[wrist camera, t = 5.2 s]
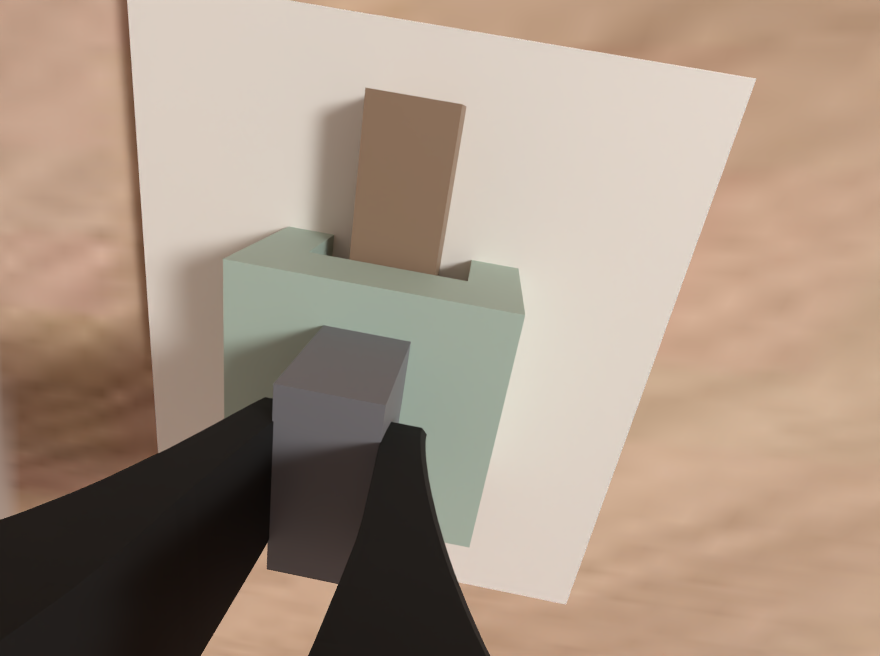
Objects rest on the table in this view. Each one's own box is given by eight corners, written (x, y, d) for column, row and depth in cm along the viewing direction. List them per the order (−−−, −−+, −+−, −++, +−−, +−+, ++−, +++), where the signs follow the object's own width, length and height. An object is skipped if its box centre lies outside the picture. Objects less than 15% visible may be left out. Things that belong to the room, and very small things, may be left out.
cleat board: (563, 584, 18) (571, 647, 16) (176, 504, 18) (134, 555, 16) (739, 81, 12) (794, 72, 9) (148, -18, 12) (73, -49, 10)
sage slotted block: (475, 460, 15) (462, 648, 10) (280, 421, 15) (161, 585, 10) (518, 268, 13) (533, 374, 7) (288, 226, 13) (140, 299, 8)
